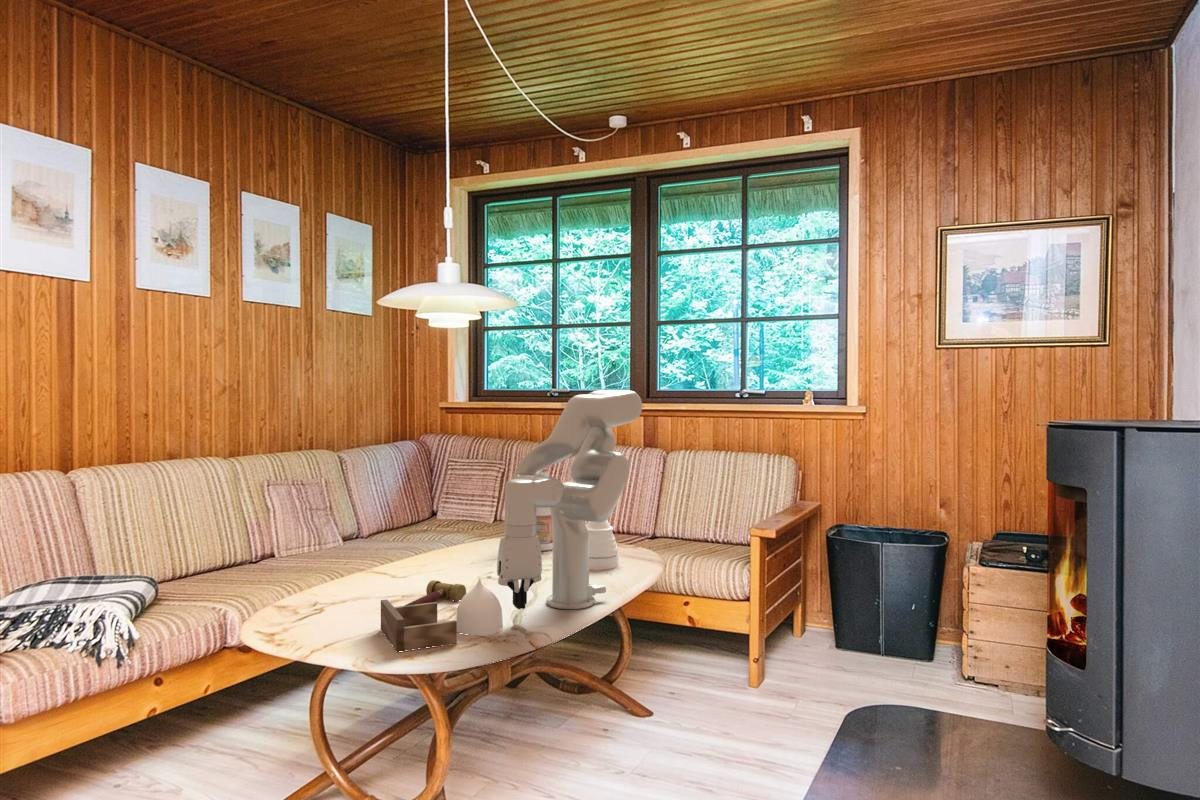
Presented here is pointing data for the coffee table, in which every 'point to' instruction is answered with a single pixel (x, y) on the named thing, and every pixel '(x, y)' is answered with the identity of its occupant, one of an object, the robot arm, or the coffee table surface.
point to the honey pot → (602, 546)
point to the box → (415, 626)
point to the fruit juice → (544, 523)
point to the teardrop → (479, 612)
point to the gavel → (441, 592)
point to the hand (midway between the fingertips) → (519, 607)
